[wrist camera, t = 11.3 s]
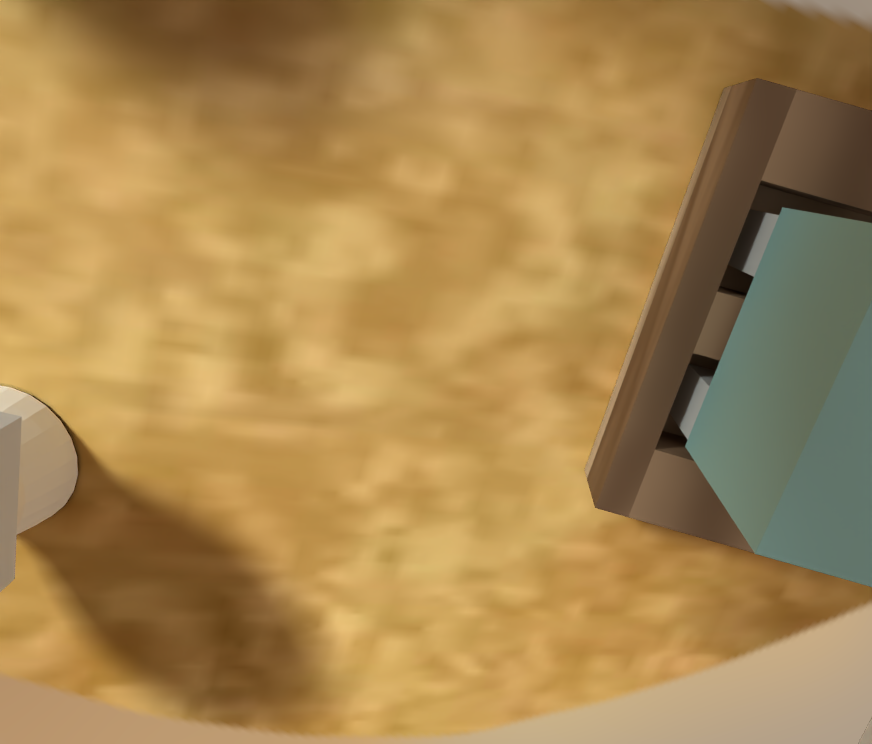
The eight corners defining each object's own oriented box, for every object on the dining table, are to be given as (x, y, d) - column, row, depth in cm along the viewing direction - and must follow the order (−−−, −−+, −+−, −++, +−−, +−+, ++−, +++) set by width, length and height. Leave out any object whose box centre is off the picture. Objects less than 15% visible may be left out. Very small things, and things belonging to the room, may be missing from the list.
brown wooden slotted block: (584, 469, 35) (595, 507, 32) (724, 87, 30) (757, 78, 26) (762, 520, 36) (794, 564, 32) (932, 147, 30) (995, 146, 26)
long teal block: (665, 417, 33) (755, 553, 22) (751, 201, 30) (904, 228, 19) (749, 441, 33) (882, 590, 22) (842, 228, 30) (1053, 271, 19)
